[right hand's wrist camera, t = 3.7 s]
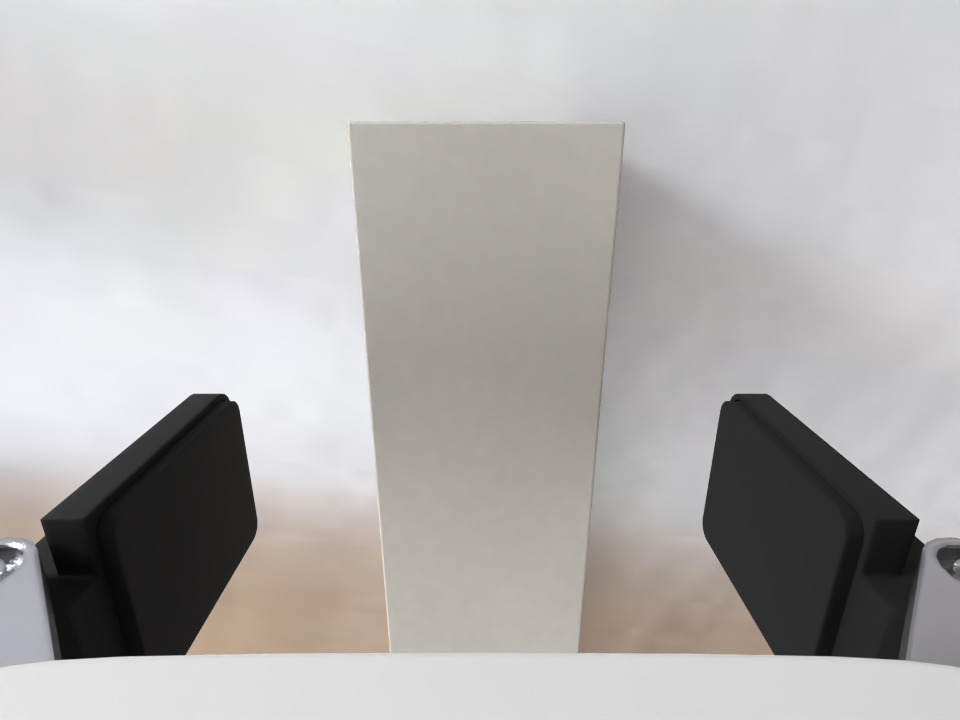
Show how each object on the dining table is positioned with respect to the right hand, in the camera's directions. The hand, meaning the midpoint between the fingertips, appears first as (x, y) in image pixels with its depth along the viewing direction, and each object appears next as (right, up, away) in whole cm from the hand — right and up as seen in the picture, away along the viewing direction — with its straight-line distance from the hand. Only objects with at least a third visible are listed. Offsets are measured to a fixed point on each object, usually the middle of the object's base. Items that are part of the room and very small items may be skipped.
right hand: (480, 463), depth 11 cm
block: (0, -18, +18) cm, 26 cm away
